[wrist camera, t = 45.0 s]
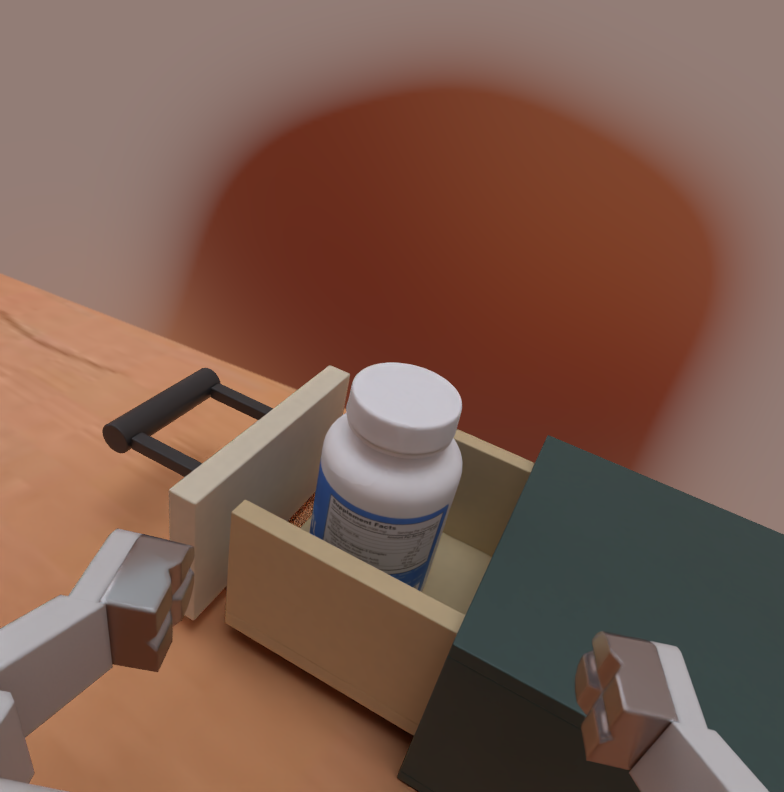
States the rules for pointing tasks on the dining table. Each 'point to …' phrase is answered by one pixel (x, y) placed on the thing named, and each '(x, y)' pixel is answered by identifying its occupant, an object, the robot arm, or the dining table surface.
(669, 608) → the cabinet
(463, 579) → the drawer
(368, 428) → the pill bottle
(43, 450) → the dining table surface
